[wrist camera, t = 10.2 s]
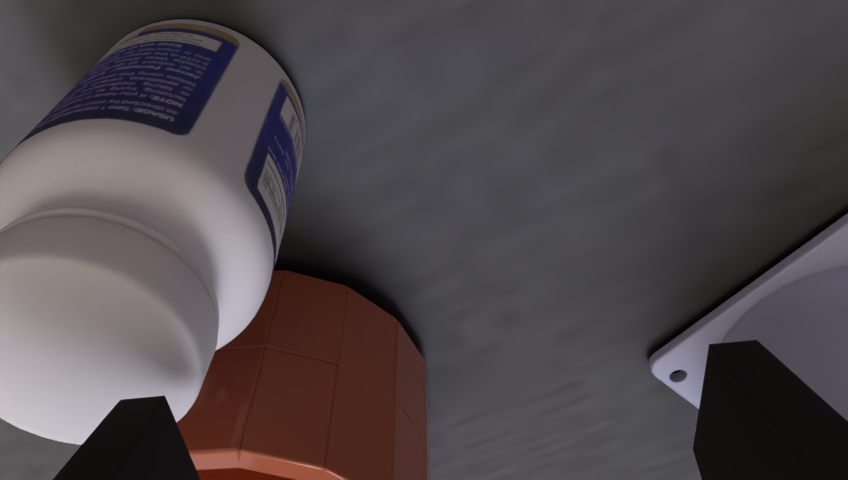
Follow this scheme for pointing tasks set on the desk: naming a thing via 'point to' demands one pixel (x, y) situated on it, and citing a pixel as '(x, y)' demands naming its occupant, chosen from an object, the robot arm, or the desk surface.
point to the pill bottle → (142, 225)
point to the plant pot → (313, 393)
